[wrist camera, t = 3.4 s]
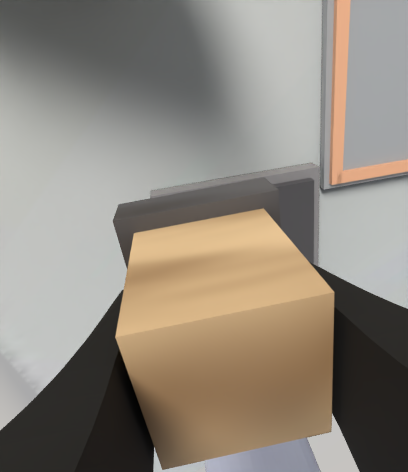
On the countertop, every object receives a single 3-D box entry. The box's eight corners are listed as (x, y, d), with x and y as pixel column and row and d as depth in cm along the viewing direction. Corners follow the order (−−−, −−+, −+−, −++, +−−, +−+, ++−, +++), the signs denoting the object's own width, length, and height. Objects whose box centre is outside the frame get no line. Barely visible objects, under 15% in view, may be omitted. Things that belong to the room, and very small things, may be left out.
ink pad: (311, 294, 22) (320, 308, 21) (179, 320, 22) (180, 335, 20) (311, 162, 18) (323, 169, 17) (150, 190, 18) (149, 199, 16)
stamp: (273, 296, 13) (351, 440, 8) (151, 321, 13) (145, 487, 8) (264, 177, 11) (361, 263, 6) (118, 204, 11) (77, 320, 6)
